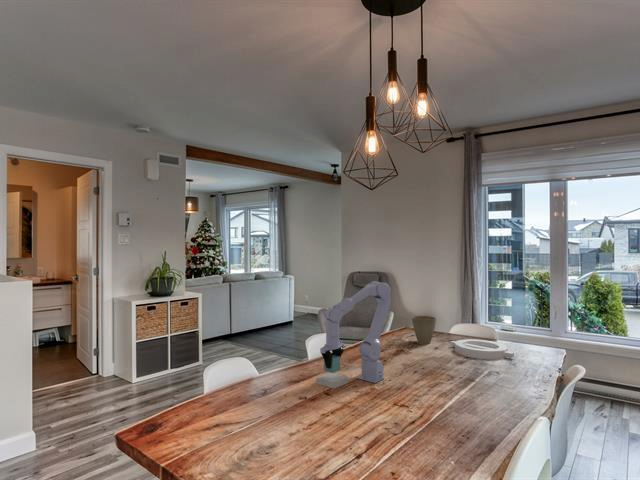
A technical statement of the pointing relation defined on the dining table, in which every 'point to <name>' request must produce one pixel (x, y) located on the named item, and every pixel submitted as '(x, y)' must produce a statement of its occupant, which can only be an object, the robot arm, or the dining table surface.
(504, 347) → the white circle with bar
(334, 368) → the teal block
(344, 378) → the plinth
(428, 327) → the plant pot
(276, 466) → the dining table surface
